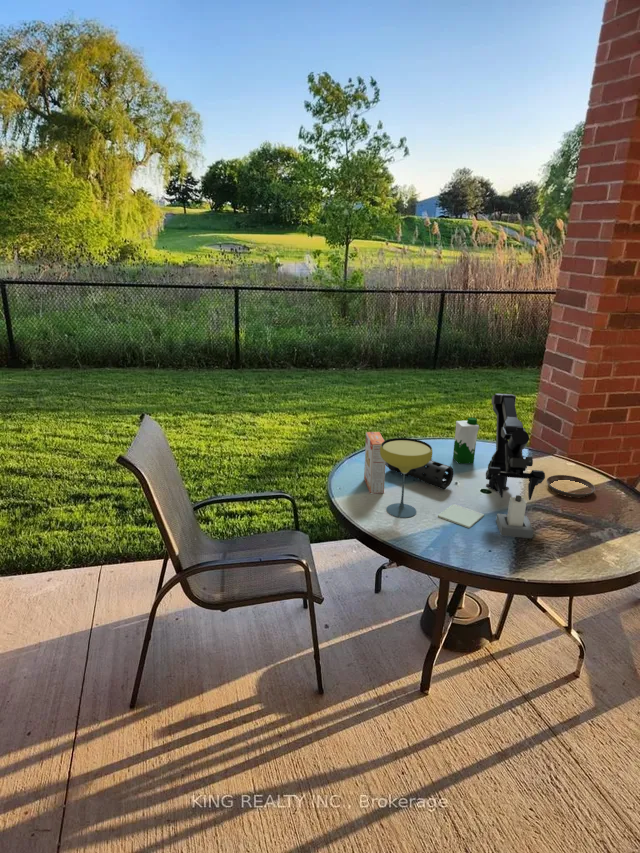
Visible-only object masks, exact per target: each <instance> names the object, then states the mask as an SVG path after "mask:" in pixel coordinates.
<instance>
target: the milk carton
mask: <svg viewBox="0 0 640 853" xmlns="http://www.w3.org/2000/svg"><path fill="white" fill-rule="evenodd" d="M479 430H480V425H479V424H478V418H476V417H472V416H471V417H468V418H467V420H456V421H455V431H454V444H453V453H452V454H453V456H452V458H453V460H454V461H455V462H456V463H457V464H460V465H465V464H467V465H468V464H474V463H475V455H476V454H475V453H476V446H477V438H478V432H479Z"/></svg>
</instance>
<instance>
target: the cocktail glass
mask: <svg viewBox="0 0 640 853" xmlns="http://www.w3.org/2000/svg"><path fill="white" fill-rule="evenodd" d="M380 455H381V457H382V459H383V460H384V461H386V462H387V463H388V464H390V465H392V466H394V467H397V468H399V470H400V471H401V472H402V473H403V475H402V485H401V488H402V489H401V496H400V497H401V498H400V503H399V502H397V503H392V504H389V505H388V506H387V507H386V512H387V514H389V515H390V514H391V516H392V515H393V516H392V517H395V518H399V517H400V518H401V519H406V518H407V519H408V518H412V517H414V516H416V515H417V509H416V508H415V507H414V506H412V505H410V504H408V503H405V502H404V496H405V495H404V494H405V479H406V476H405V474H406V473H408V472H409V471H410V470H411V469H414V468H418V467H421V466H424V465H426V464H427V463H428V462H429V461H430V460H431V458H432V457H433V448H432V446H431V445H430V444H429V443H428V442H425V441H422V440H419V439H415V438H407V437H397V438H396V437H395V438H390V439H386V440H384V442H383V443H382V444H381V446H380ZM432 459H433V458H432Z"/></svg>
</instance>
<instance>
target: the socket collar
mask: <svg viewBox="0 0 640 853" xmlns="http://www.w3.org/2000/svg"><path fill="white" fill-rule="evenodd" d="M507 514H508V513H507ZM507 514H506V513H498V512H497V513H496V519H495V522H496V525H497V529H498V532H499V533H500V534H499V535H500V536H502V537H503V536H504V537H511V538H512V537H513V538H524V539H533V534H534V529H533V526H532V524H531V522H530V520H529V516H527V515H524V522H523V527H522V526H511V525H507V523H506V521H507Z"/></svg>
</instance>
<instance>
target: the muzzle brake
mask: <svg viewBox="0 0 640 853" xmlns="http://www.w3.org/2000/svg"><path fill="white" fill-rule="evenodd" d="M385 467H386V468H388V469H389V470H390V471H392V472H395V473H398V474H399V473H400V475H401V474H402V475H401V476H403V473H402V472H401V471H400V470H399V468H397V467H394V466H392V465H390V464H388V463H387V462H386V464H385ZM454 473H455V472H454V468H453V467H452V466H450V465H447V464H444V463H441V462H438V461H434V460H433V459H432V460H430V461H429V462H428V463H427V464H426V465H424V466H421V467H418V468H414V469H411V470H410V471H409V472H408V473H406V474H405V477H406V476H407V477H411V478H414V479H416V480H419V482H423V483H425V484H427V485H429V486H432V487H435V488H438V489H440V490H441V489H442V490H447V489H448V487H449V486H450V485H451V483H452V481H453V479H454V475H455V474H454Z"/></svg>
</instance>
